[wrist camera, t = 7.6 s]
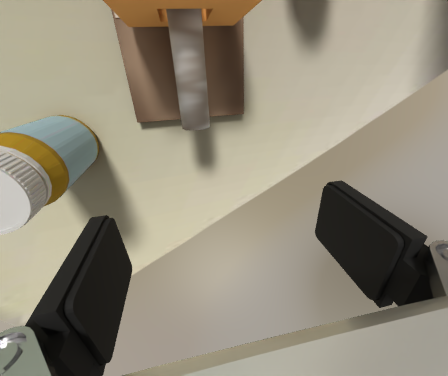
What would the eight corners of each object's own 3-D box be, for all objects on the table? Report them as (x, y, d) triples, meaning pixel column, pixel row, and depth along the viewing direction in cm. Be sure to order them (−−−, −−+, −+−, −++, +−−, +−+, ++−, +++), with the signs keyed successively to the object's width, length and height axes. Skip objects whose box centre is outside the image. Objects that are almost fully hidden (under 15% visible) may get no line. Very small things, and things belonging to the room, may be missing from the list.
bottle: (107, 131, 28) (48, 178, 15) (91, 175, 30) (27, 250, 17) (46, 103, 25) (-92, 131, 12) (32, 153, 27) (-97, 223, 14)
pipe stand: (239, -102, 21) (282, -220, 13) (241, 112, 30) (266, 126, 22) (85, -113, 19) (13, -265, 10) (138, 120, 28) (123, 139, 20)
